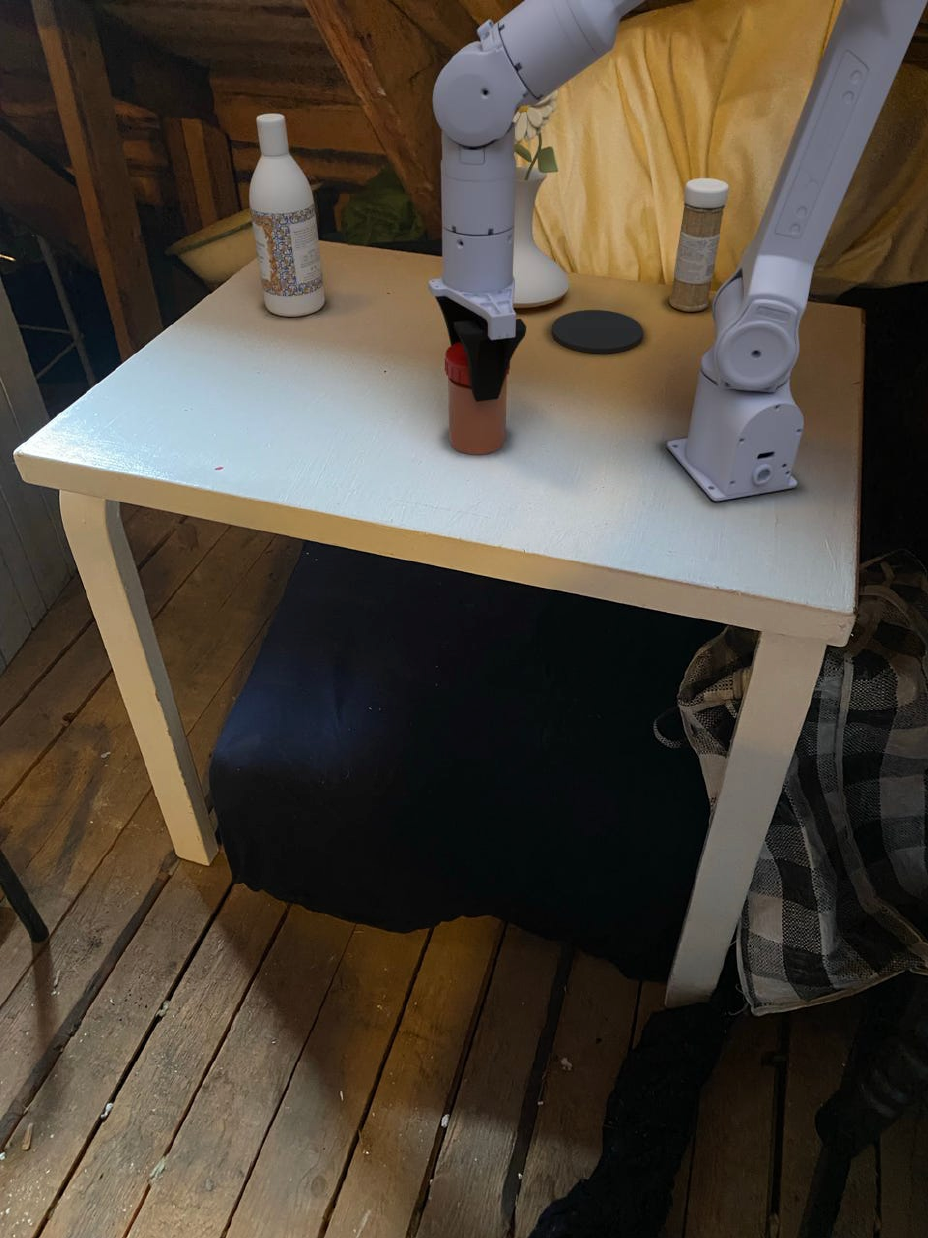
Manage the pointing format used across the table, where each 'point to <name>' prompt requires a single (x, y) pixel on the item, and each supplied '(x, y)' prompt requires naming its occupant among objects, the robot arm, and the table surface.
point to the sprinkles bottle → (698, 243)
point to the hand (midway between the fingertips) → (476, 382)
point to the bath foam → (284, 226)
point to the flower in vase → (531, 266)
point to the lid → (459, 364)
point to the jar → (476, 420)
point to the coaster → (597, 331)
